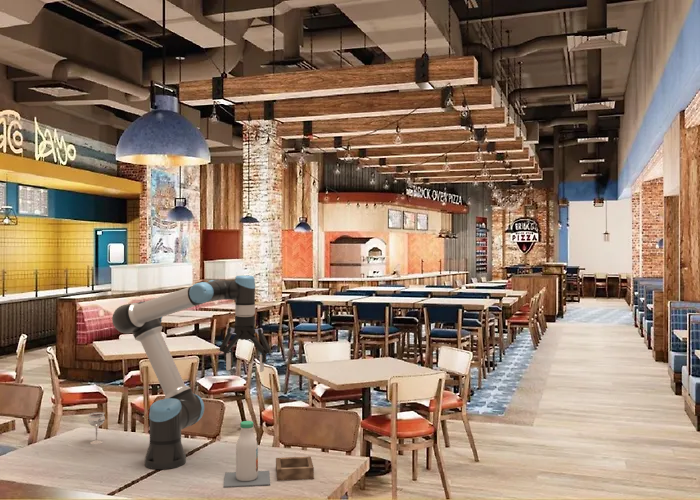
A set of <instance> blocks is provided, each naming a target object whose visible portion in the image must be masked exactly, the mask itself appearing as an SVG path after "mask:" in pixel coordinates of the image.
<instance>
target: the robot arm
mask: <svg viewBox="0 0 700 500" xmlns="http://www.w3.org/2000/svg"><path fill="white" fill-rule="evenodd" d="M221 300H225V301H226V300H229V301H231V300H232V301H235V306H234V308H235V312H234V313H235V315H236V316H235V321H234V323H235V324H234V325H235V327H232V326H230V327H228V328H227V330H226V335H225V336H224V339H223V341H222V342H221V345H220V347H219V349H218V350H219V352H221V353H223V354H224V355H223V361H224V362H225V363H226V364H225V367H226V370H225V371H231V369H232V367H231V366H232V353H231V352H230V351H231V349H232V348H233V347H234V346H235V345H236V343H237V342H238V341H239V340H241V341H243V340H244V341H250V342H252V343H253V345H254V346H255V347H256V349H258V351H259V352H260V353H261V354H259V373H263V372H264V371H265V363H267V354H269V353H271V352H272V349H271V347H270V345H269V343H268V340H267V338H266V336H265V334H264V329H263V328H262V327H260V328H256V316H255V315H256V301H255V300H256V281H255V277H254V276H253V275H250V274H249V275H244V274H243V275H236V276H235V279H234V280H226V279H211V280H208V281H201V282H197V283H194V284H193V285H192V286H188V287H185V288H182V289H179V290H176V291H173V292H171V293H168V294H165V295H160V296H158V297H156V298H152V299H150V300H147V301H139V302H133V303H132V302H131V303H128V304H127V303H126V304H123V305H120V306H118V307H117V308H116V309H115V311H114V312H113V313H112V316H111V317H112V325H113V326H114V328H115V330H117V331H118V332H120V333H121V334H122V333H123V334H128V335H129V334H132V335H133V338H134V339H135V341H138V342H140V344H141V346H142V348H143V351H144V352H145V355H146V357H147V358H148V361H149V363H150V365H151V368H152V369H153V371H154V374H155V376H156V378H157V381H158V382H159V385H160V388H161V389H162V391H163V393H164V398H163V399H158V400H156V401H154V402H153V403H152V404H151V405H150V407H149V414H148V419H149V445H148V447H147V450H146V455H145V456H144V466H145V467H146V468H148V469H150V470H151V469H152V470H169V469H175V468H179V467H181V466H183V465H185V464H186V462H187V456H186V453H185V449H184V447H183V443H182V430H184V429H186V428H188V427H190V426H194V425H195V424H196V423H198V422H199V421H200V420H201V419H202V417H203V416H204V413H205V403H204V401H203V398H202V397H201V396H200V395H198V394H196V393H194V392H193V390H192V388H191V387H190V386H187V385H186V384H185V382H184V380H183V377H182V375H181V373H180V371H179V369H178V367H177V365H176V362H175V360H174V358H173V356H172V354H171V352H170V349H169V347H168V345H167V343H166V340H165V339H164V336H163V335H162V329H163V325H162V321H163V320H162V319H163V317H165V316H169V315H172V314H175V313H178V312H181V311H184V310H187V309H190V308H193V307H196V306H200V305H203V304H206V303H211V302H216V301H221ZM233 333H234V334H236V335H235V336H234V337H233V339H232V340H231V342H230V343H229V341H230V339H231V336H232V335H233ZM255 334H257V335H258V337H259V339H258V338H257V336H256V335H255ZM259 340H260V341H259ZM228 343H229V344H228Z"/></svg>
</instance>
